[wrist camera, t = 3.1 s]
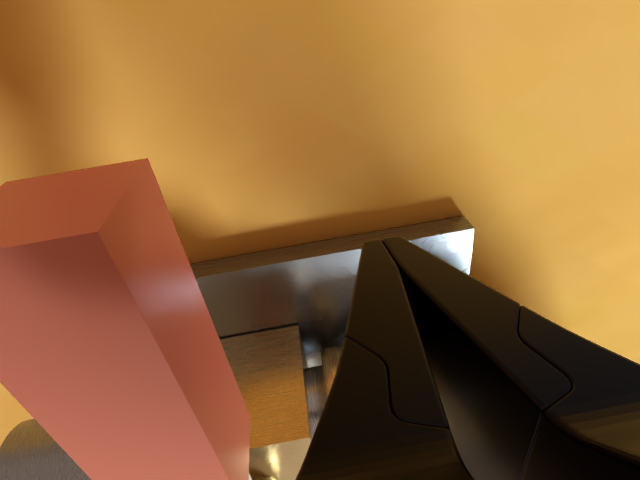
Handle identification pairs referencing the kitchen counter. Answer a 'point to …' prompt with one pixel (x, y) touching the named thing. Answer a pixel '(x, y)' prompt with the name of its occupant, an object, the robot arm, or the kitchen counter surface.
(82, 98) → the kitchen counter surface
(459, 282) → the robot arm
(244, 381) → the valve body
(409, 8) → the kitchen counter surface
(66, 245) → the lever
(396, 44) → the kitchen counter surface
